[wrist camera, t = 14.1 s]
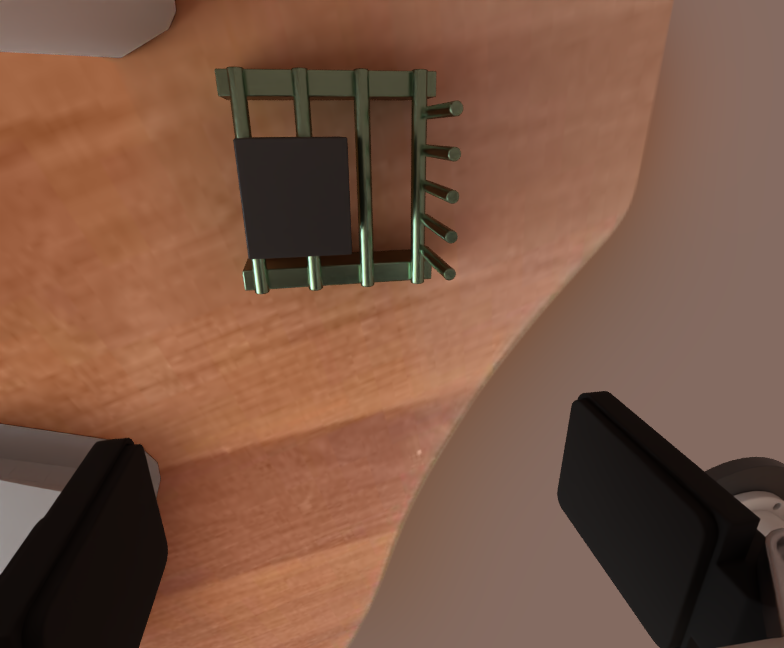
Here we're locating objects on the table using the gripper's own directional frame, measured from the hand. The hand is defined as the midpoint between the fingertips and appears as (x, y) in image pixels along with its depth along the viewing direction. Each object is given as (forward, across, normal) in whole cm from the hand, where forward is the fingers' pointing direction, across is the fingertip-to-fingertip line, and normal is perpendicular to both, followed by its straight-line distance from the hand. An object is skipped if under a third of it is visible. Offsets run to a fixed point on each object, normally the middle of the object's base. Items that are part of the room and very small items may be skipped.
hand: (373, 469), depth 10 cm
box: (+17, +2, -4) cm, 18 cm away
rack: (+21, 0, -4) cm, 22 cm away
